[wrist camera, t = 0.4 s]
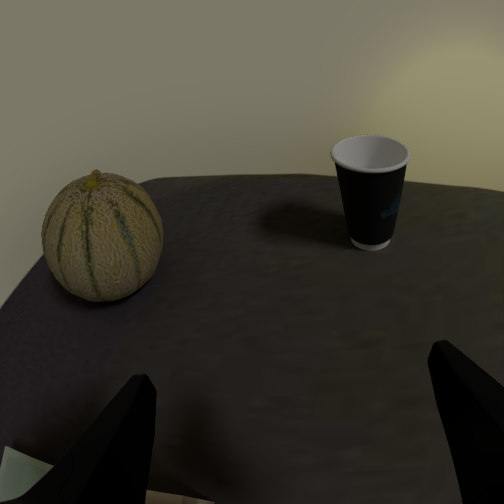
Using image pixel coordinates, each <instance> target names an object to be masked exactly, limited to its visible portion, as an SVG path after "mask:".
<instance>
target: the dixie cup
mask: <svg viewBox="0 0 504 504" xmlns="http://www.w3.org/2000/svg"><path fill="white" fill-rule="evenodd" d="M330 154H331V158H332V159H333V161H334V162H335V166H336V171H337V176H338V181H339V186H340V191H341V196H342V202H343V207H344V213H345V218H346V224H347V230H348V234H349V236H350V238H351V241H352V243H353V244H354V245H355V246H357V247H358V248H360V249H363V250H368V251H375V250H379V249H382V248H384V247H385V246H387V245H388V243H389V241H390V238H391V237H392V235H393V233H394V228H395V224H396V219H397V214H398V209H399V204H400V199H401V194H402V188H403V183H404V177H405V171H406V164H407V163H408V161H409V159H410V152H409V150H408V148H407V147H406V146H405V145H404V144H402V143H401V142H399V141H397V140H394V139H392V138H389V137H384V136H378V135H359V136H352V137H349V138H345V139H343V140H341V141H339V142H337V143H336V144H335V145H334V146H333V147H332V149H331V152H330Z"/></svg>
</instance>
